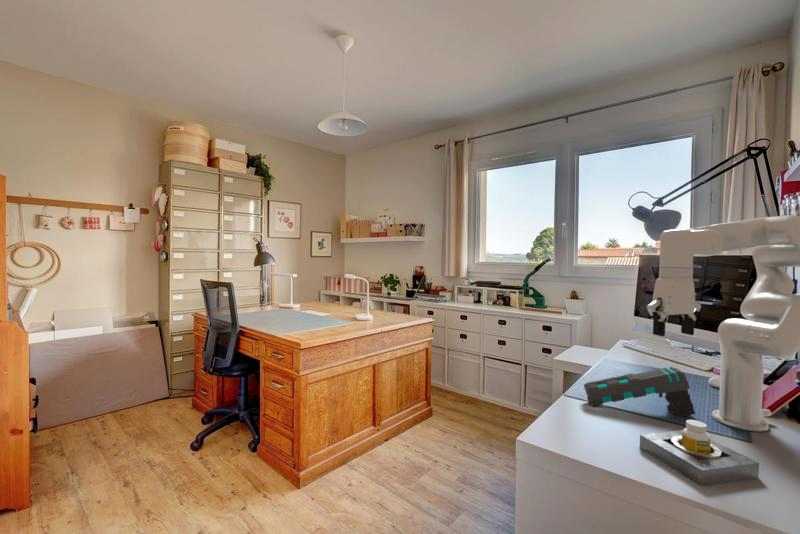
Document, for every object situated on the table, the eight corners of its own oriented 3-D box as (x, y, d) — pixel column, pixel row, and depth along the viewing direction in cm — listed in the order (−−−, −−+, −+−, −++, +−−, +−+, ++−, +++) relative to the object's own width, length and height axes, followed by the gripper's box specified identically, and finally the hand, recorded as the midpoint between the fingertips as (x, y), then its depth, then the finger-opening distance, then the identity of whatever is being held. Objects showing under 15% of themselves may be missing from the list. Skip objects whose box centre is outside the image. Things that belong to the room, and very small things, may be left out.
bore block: (689, 442, 98) (690, 427, 98) (758, 477, 83) (759, 460, 82) (639, 447, 95) (640, 432, 95) (701, 485, 79) (702, 468, 79)
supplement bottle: (692, 454, 92) (694, 417, 92) (715, 466, 87) (717, 427, 87) (675, 456, 91) (677, 419, 91) (697, 469, 86) (699, 429, 85)
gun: (700, 414, 112) (684, 367, 113) (599, 431, 119) (585, 387, 120) (688, 405, 119) (673, 361, 119) (594, 422, 126) (580, 380, 126)
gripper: (687, 273, 107) (685, 331, 107) (638, 273, 103) (635, 332, 104) (714, 274, 99) (711, 336, 100) (662, 274, 96) (659, 338, 97)
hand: (673, 334), depth 102 cm, fingers open, 9 cm apart
